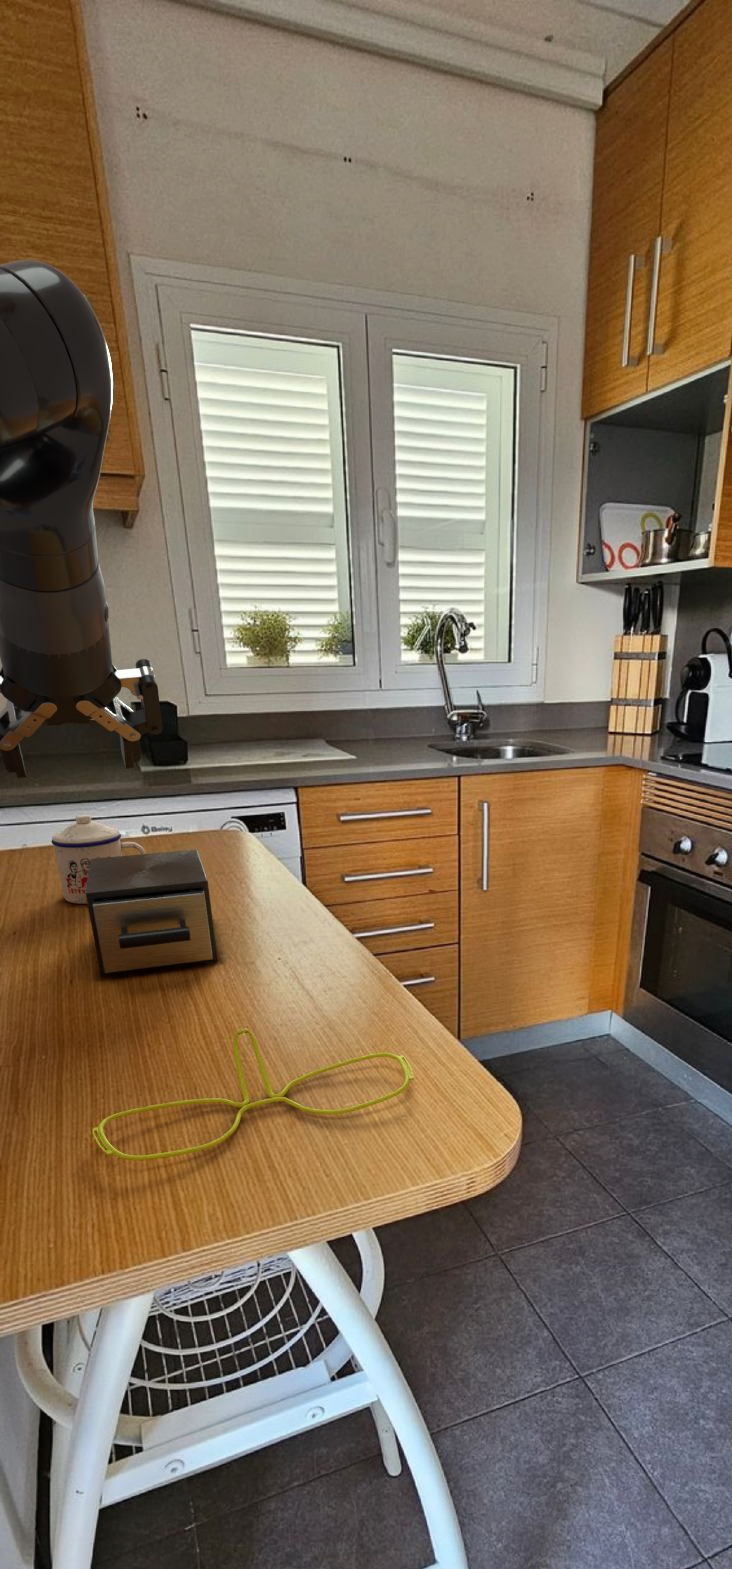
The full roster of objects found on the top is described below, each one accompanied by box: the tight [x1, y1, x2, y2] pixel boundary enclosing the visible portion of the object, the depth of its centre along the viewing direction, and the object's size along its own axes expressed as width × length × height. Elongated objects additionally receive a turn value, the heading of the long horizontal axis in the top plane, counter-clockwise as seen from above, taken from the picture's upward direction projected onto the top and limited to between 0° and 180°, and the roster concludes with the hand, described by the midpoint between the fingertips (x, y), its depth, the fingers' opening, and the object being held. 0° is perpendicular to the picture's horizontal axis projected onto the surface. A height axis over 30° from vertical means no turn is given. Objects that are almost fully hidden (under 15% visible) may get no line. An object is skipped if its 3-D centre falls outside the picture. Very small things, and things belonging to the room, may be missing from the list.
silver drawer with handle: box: [93, 889, 213, 973], centre depth 96 cm, size 19×11×8 cm, turn 20°
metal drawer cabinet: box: [86, 848, 219, 977], centre depth 100 cm, size 16×13×10 cm
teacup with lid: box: [51, 814, 147, 905], centre depth 120 cm, size 12×9×12 cm
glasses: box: [91, 1028, 415, 1162], centre depth 66 cm, size 25×10×5 cm, turn 116°
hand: (75, 765), depth 72 cm, fingers open, 8 cm apart
